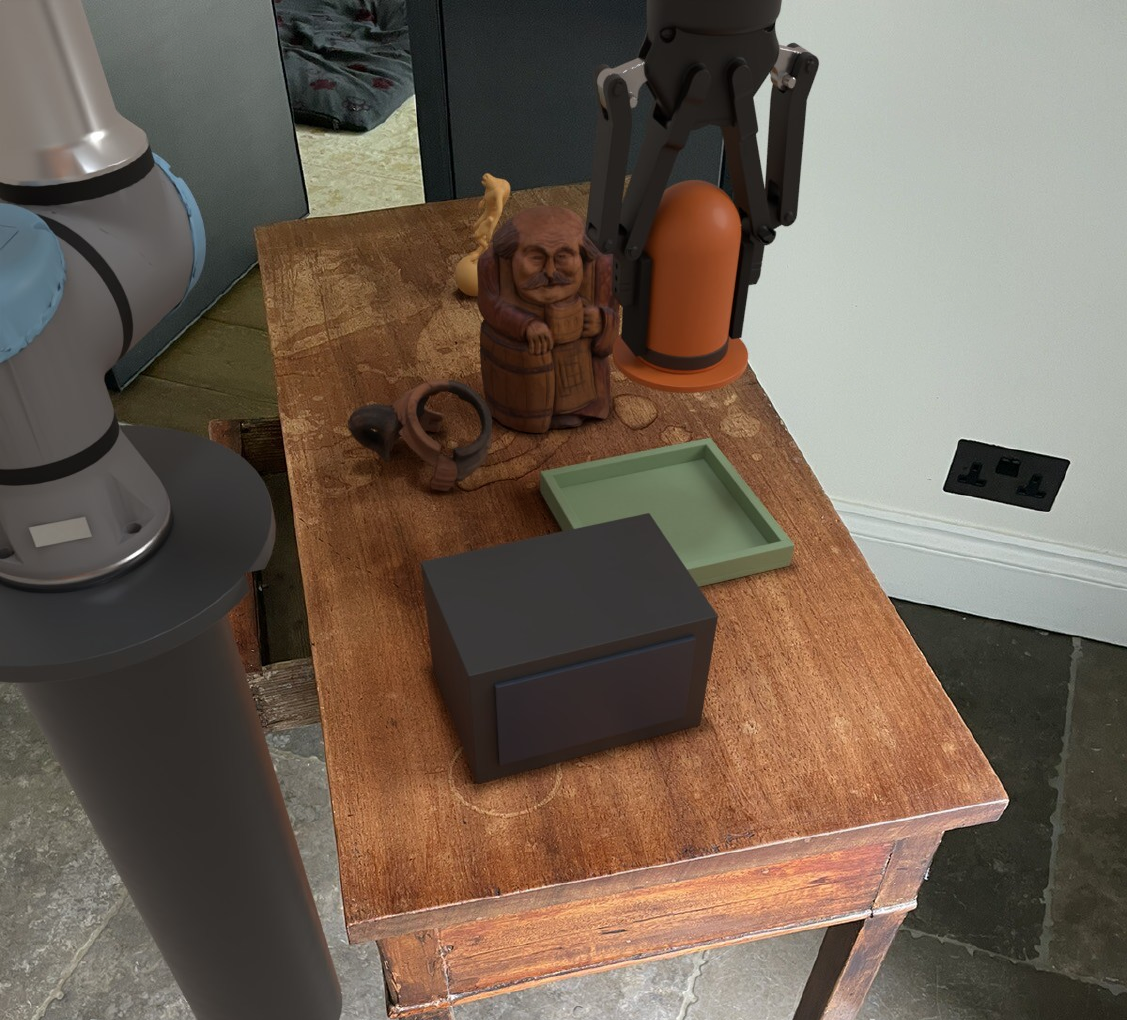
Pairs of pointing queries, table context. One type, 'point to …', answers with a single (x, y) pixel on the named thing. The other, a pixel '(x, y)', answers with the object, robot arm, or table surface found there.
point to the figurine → (482, 232)
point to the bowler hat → (690, 294)
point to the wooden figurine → (546, 322)
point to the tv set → (567, 644)
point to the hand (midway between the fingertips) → (681, 337)
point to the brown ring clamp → (413, 422)
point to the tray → (676, 507)
